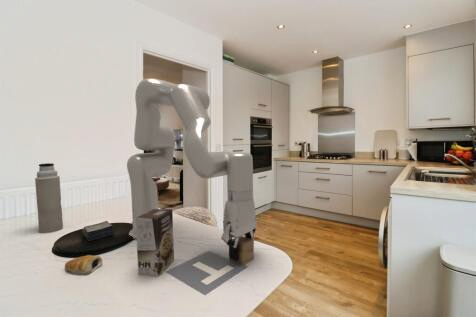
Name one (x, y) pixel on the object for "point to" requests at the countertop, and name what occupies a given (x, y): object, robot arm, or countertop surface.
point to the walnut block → (244, 250)
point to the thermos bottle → (48, 199)
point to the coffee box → (155, 242)
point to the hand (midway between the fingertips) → (241, 254)
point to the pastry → (83, 264)
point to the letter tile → (206, 271)
